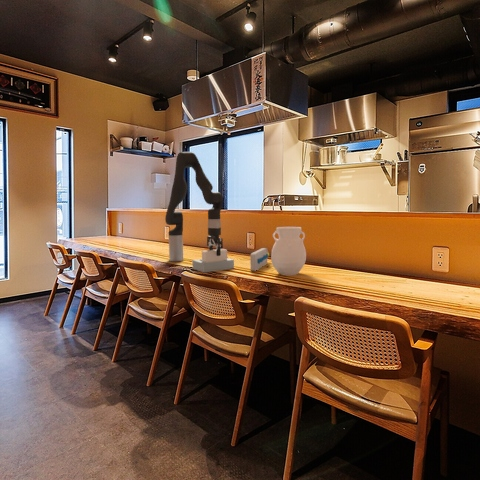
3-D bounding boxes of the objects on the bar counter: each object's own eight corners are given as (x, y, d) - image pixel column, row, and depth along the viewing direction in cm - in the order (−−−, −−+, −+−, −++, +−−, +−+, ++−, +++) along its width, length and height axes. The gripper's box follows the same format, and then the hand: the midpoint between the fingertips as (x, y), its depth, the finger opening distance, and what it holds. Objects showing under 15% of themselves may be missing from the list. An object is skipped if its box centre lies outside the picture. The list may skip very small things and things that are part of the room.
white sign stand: (202, 268, 199) (201, 250, 198) (223, 265, 206) (222, 248, 205) (206, 269, 195) (205, 251, 193) (227, 266, 202) (227, 249, 201)
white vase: (308, 271, 191) (308, 226, 188) (303, 278, 173) (303, 228, 171) (275, 269, 197) (275, 225, 194) (267, 276, 180) (267, 228, 177)
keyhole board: (192, 268, 203) (192, 260, 202) (221, 264, 214) (221, 256, 213) (203, 272, 191) (203, 263, 191) (233, 268, 202) (233, 259, 202)
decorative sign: (256, 271, 192) (256, 254, 191) (250, 271, 193) (250, 253, 192) (271, 262, 222) (271, 246, 221) (265, 261, 223) (265, 246, 222)
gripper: (202, 226, 202) (203, 253, 204) (214, 228, 190) (215, 257, 192) (213, 226, 206) (214, 252, 208) (226, 227, 194) (226, 255, 196)
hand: (214, 254), depth 200 cm, fingers open, 8 cm apart
